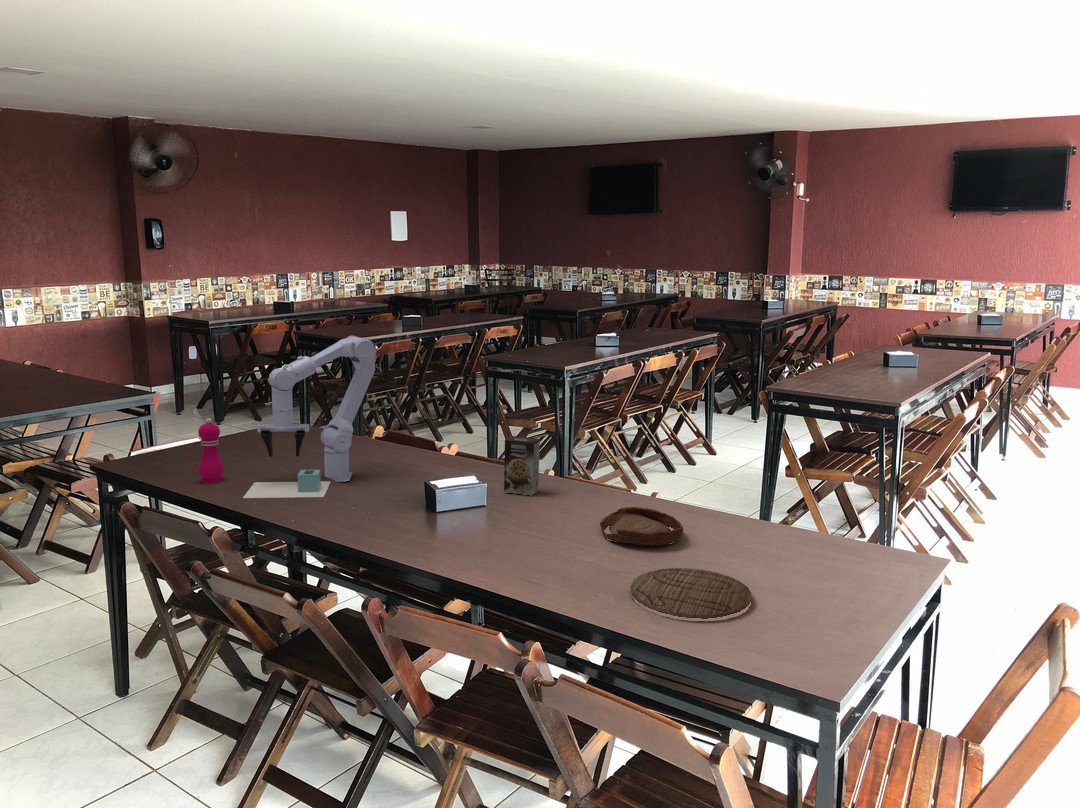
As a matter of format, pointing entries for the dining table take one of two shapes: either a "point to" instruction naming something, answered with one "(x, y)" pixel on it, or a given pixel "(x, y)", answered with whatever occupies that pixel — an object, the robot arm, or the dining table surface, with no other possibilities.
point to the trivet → (691, 593)
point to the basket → (641, 526)
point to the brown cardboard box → (521, 465)
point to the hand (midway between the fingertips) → (284, 455)
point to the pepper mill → (210, 453)
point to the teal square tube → (309, 481)
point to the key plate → (282, 490)
